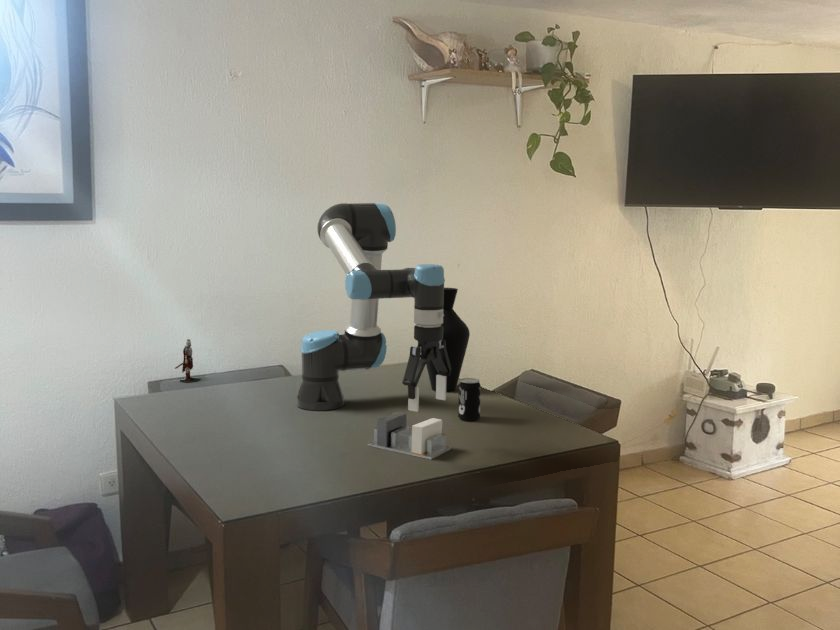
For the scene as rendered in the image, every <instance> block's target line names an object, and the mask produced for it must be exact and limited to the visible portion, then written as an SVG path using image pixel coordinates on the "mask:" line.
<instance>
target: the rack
mask: <svg viewBox="0 0 840 630" xmlns="http://www.w3.org/2000/svg"><path fill="white" fill-rule="evenodd" d="M407 415H408V414H407V413H406V412H401V411H396V412H394V413H391V414H388V415H385V416H383V417H381V418H379V419H377V420H376V428H374V429H373V441H370V442H367V446H368V447H373V448H378V449H382V450H386V451H389V452H390V451H391V452H396V453H400V454H403V455H409V456H414V457H419V458H421V459H427V460H433V459H435V458H437V457H439V456H441V455H443V454H445V453H446V452H449V451H451V450H452V449H451V448H452V447H451V446H448V445H446V434H445V433H443V432H442V433H440V434H438V435H436V436H434V437H432V438H430V439H428V440H427V452H425V453H422V454H419V453H414V452H411V450H412V434H411V426H407Z"/></svg>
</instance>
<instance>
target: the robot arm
mask: <svg viewBox="0 0 840 630" xmlns="http://www.w3.org/2000/svg"><path fill="white" fill-rule="evenodd" d="M396 227H397V226H396V219H395V216H394V213H393V210H392V208H390V206H388V205H387V204H384V203H376V202H364V203H362V202H361V203H360V202H359V203H354V202H353V203H346V202H345V203H343V202H342V203H337V204H334V205H332V206H330V207H329V208H328V209H326V210H324V212H323V213H322V215H321V216H320V218H319V219H318V223H317V234H318V237H319V239H320V241H321V243H322V244H323V245H324V246H325V247H326V248H329V249H330V250H331V252H332V254H333V256H334V257H335V259H336V260H337V262H338V264H339V266H340V267H341V268H342V270H343V272H344V273H345V275H346V276H345V280H344V283H345V285H344V287H345V291H346V295H347V296H348V298H349V299H351V301H350V303H351V304H350V315H349V316H350V321H349V323H348V324H347V325H346V326H345V327H344V333H343V334H340V333H339V331H338V330H333V329H329V330H327V329H325V330H317V331H313V332H310V333H307V334H306V335H304V336H303V337H302V339H301V348H300V349H301V350H300V352H301V382H300V387H299V389H298V393H297V395H296V406H297V407H298V408H299V409H302V408H303V410H308V411H329V410H330V411H331V410H335V409H339V408H341V407H343V406H344V405H345V395H344V393H343V391H342V387H341V383H340V379H339V378H340V377H339V376H340V375H339V373H340V372H345V371H357V370H366V371H367V370H370V369H377V368H379V367H380V366H381V365H382V364H383V363H384V361H385V358H386V353H387V340H386V339H387V338H386V336H385V334H384V333H383V332H382V329H381V328H380V326H379V325H378V313H379V312H378V311H379V303H380V302H379V300H381V299H402V298H404V299H405V298H414V305H413V307H414V308H413V311H414V312H413V323H414V324H415V325H414V327H413V339H414V340H415V341H417V346H410V348H409V356H408V360H407V364H406V368H405V371H404V375H403V379H402V385H404V386H407V398H408V399H407V400H408V401H407V403H408V404H407V410H408V411H410V412H419V410H420V409H419V408H420V405H419V404H420V399H419V397H420V386H419V385H418V383H419V381H420V378H421V376H422V374H423V371H424V370H425V369H424V368H425V366H426V364H428V362H429V361H431V360H432V362H433V364H434V366H435V368H436V370H437V372H438V374H440V375H436V391H435V399H436V400H441V401H446V400H447V392H446V375H447V376H450V374H451V365H450V361H449V357H448V353H447V349H446V341H445V340H442V339H443V327H442V325H441V324H442V323H443V316H444V314H443V304H444V288H445V281H446V279H445V269H444V267H443V266H442V265H439V264H435V263H434V264H431V263H426V264H425V263H424V264H423V263H422V264H417V265H416V266H415V267H404V268H401V269H382V261H383V260H382V259H383V254H384V252H386V251H387V250H388V249H389V248H388V246H389V245H388V244H389V243H392V242H393V241H394V240H395V238H396V236H397V235H396V233H397V228H396ZM445 366H447V367H445Z"/></svg>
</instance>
